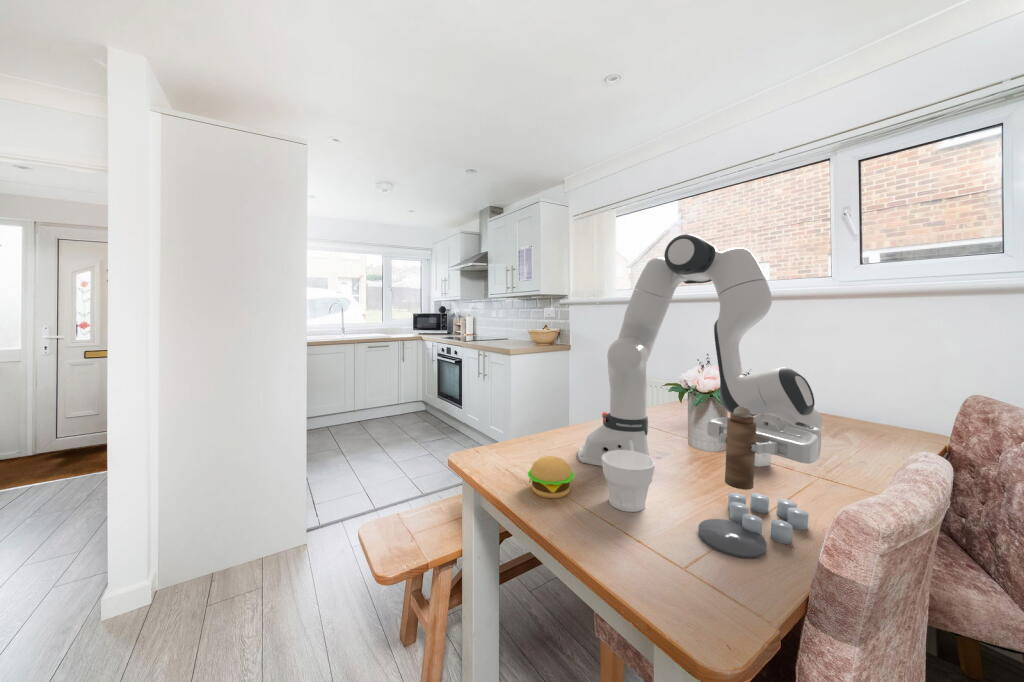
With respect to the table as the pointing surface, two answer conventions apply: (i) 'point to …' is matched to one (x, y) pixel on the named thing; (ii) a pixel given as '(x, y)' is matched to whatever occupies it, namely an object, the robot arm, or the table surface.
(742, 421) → the pepper mill
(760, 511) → the tealight cups
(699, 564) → the table surface
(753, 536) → the disc
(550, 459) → the hamburger
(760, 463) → the jar
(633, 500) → the cup
